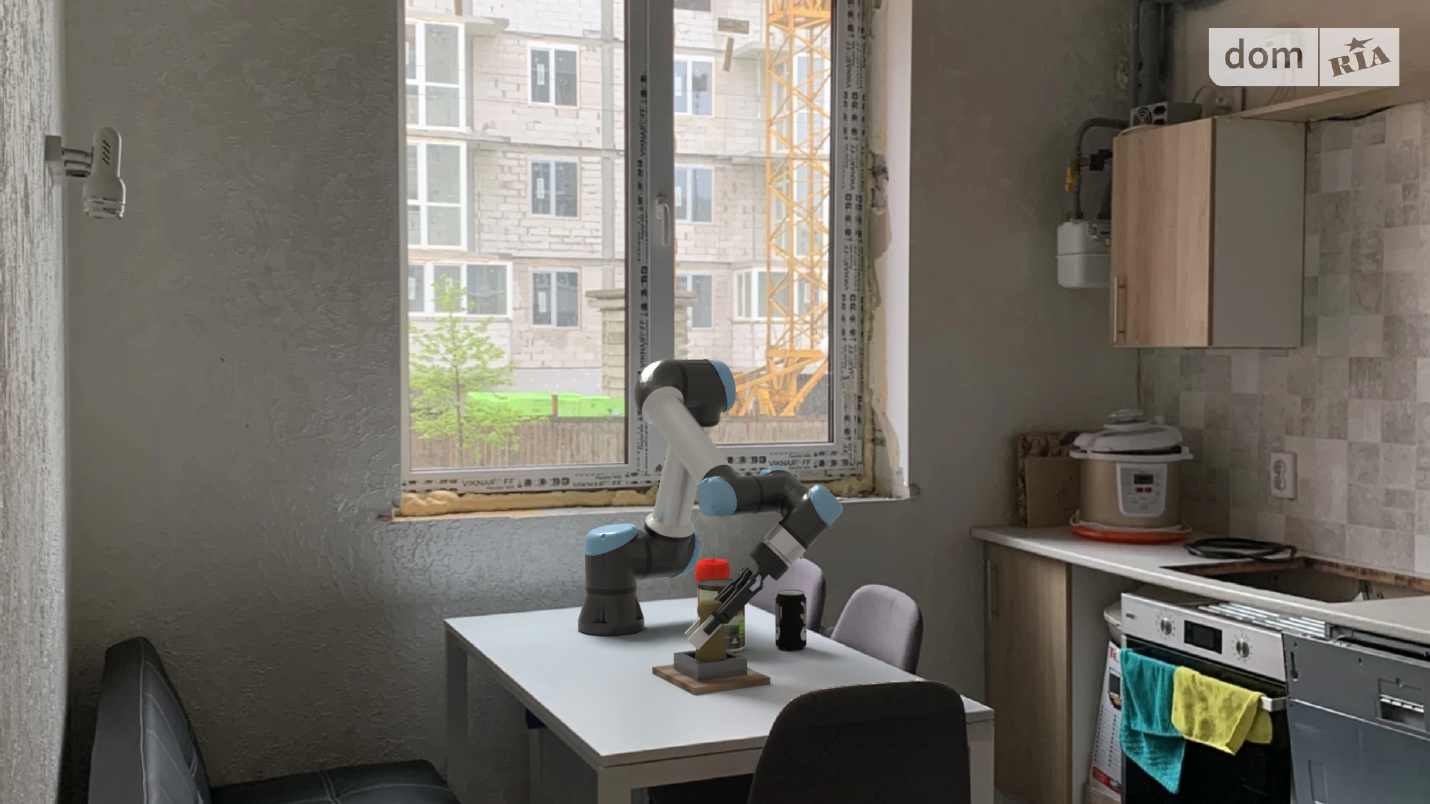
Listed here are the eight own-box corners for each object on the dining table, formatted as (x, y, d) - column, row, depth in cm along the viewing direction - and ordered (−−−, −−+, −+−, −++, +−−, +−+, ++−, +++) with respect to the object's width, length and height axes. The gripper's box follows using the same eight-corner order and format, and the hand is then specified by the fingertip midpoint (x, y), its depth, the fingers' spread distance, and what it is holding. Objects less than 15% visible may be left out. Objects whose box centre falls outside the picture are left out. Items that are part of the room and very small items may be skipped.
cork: (731, 655, 234) (730, 598, 233) (720, 662, 228) (720, 604, 228) (701, 653, 236) (701, 596, 235) (690, 660, 230) (690, 602, 230)
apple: (692, 602, 310) (692, 560, 310) (698, 596, 318) (698, 555, 318) (727, 603, 308) (727, 560, 308) (732, 597, 317) (732, 555, 317)
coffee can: (749, 643, 262) (749, 578, 262) (740, 654, 252) (740, 586, 252) (702, 641, 264) (702, 577, 264) (692, 652, 254) (691, 585, 254)
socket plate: (652, 673, 236) (652, 650, 236) (725, 663, 244) (724, 641, 244) (693, 694, 220) (693, 670, 220) (770, 683, 228) (770, 660, 228)
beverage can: (797, 652, 253) (797, 595, 253) (769, 649, 257) (769, 592, 257) (811, 646, 259) (811, 590, 259) (784, 643, 262) (784, 587, 262)
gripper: (798, 574, 224) (710, 666, 223) (782, 559, 242) (700, 644, 241) (770, 546, 224) (681, 638, 222) (755, 533, 242) (673, 618, 240)
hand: (691, 641), depth 231 cm, fingers closed on cork, 5 cm apart
